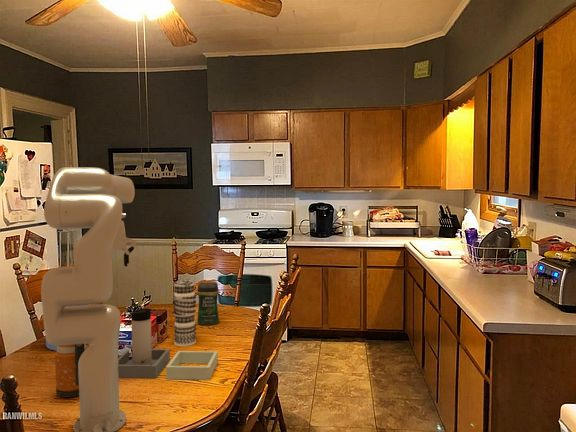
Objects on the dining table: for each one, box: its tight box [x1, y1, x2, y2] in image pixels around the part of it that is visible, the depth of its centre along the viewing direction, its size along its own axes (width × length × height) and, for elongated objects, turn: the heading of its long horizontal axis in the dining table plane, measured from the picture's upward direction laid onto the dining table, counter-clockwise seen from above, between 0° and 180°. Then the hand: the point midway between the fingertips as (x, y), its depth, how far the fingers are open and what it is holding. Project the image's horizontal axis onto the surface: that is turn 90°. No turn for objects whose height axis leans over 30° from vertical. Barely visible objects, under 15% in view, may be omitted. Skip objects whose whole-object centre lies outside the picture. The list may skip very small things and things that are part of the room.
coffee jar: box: [196, 281, 220, 326], centre depth 201 cm, size 10×8×19 cm
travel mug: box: [130, 307, 153, 365], centre depth 150 cm, size 6×7×20 cm
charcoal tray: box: [118, 348, 171, 379], centre depth 151 cm, size 15×15×4 cm
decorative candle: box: [172, 278, 197, 347], centre depth 175 cm, size 9×9×25 cm
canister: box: [54, 344, 88, 398], centre depth 132 cm, size 9×11×20 cm
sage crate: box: [165, 350, 219, 381], centre depth 149 cm, size 14×14×4 cm
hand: (110, 267), depth 152 cm, fingers open, 9 cm apart
